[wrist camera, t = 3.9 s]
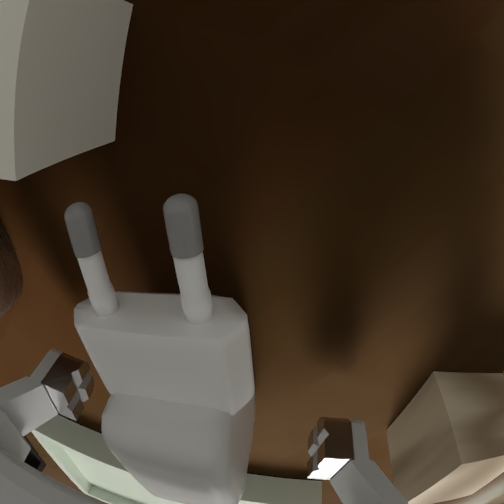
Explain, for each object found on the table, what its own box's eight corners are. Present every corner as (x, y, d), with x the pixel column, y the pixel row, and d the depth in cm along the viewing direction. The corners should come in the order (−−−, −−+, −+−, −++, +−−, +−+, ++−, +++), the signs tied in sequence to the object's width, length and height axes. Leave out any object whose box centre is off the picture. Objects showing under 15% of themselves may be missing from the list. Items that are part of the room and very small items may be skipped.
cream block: (135, 5, 6) (38, -32, 3) (116, 140, 8) (16, 181, 4) (15, 28, 6) (-75, 31, 3) (6, 135, 8) (-81, 169, 5)
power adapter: (107, 170, 8) (-29, 254, 4) (256, 157, 8) (203, 256, 3) (172, 397, 13) (137, 497, 8) (269, 405, 12) (255, 518, 8)
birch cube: (501, 372, 10) (534, 446, 7) (453, 427, 13) (470, 494, 9) (432, 369, 11) (461, 464, 7) (385, 428, 13) (396, 508, 9)
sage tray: (322, 480, 16) (321, 507, 14) (270, 525, 23) (268, 540, 22) (39, 405, 16) (27, 425, 15) (89, 478, 24) (83, 492, 22)
